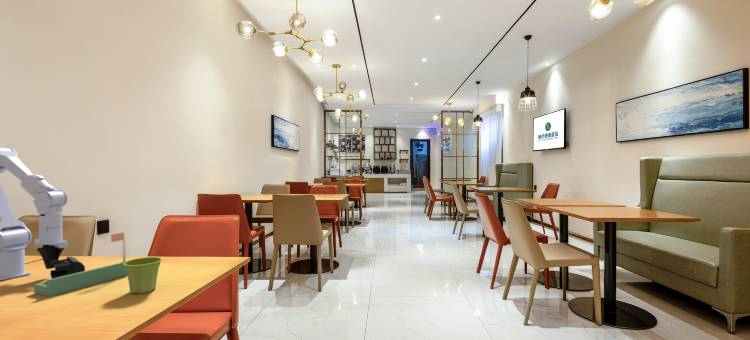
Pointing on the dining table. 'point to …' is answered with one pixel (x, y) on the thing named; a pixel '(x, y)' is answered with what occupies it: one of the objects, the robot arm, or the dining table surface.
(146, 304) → the dining table surface
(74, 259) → the black plastic holder
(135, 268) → the plant pot
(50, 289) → the putting pocket
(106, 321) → the dining table surface
